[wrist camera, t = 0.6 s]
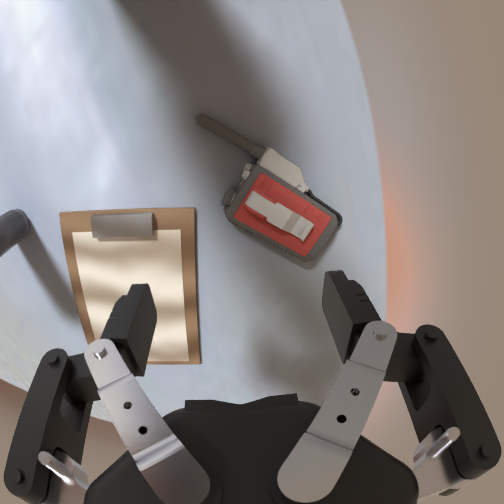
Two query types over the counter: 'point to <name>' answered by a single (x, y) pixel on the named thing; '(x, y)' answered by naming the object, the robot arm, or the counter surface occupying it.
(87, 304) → the clipboard
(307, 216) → the walkie-talkie
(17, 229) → the bottle
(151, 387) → the counter surface
